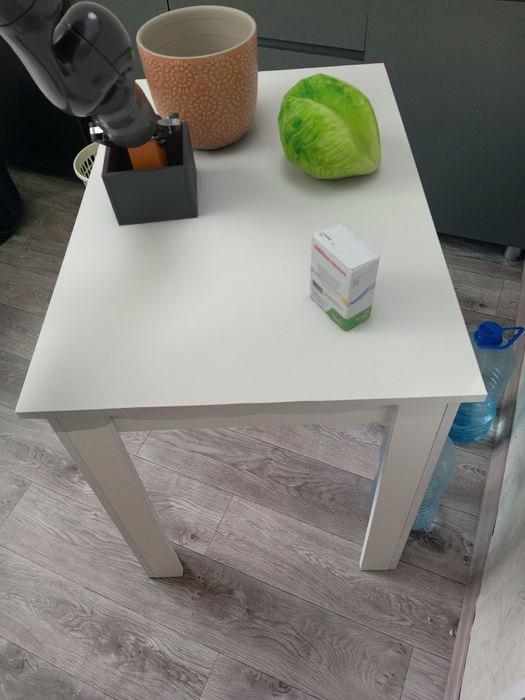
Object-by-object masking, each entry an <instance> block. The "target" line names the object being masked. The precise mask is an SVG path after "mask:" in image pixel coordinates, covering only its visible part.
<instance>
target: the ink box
mask: <svg viewBox="0 0 525 700" xmlns="http://www.w3.org/2000/svg"><path fill="white" fill-rule="evenodd" d="M310 247H311V249H310V251H311V252H310V281H309V296H310V297H311V299H312V300H313V301H315V303H316V304H317V305H318V306H319V307H320V308H321V309H322V310H323V311H324V312H325V313H326V314H327V315H328V316H329V317H330V318H331V319H332V320H333V321H334V322H335V323H336V325H338V326H339V327H340V328H341V329H342V330H343V331H346V332H347V331H349V330H350V329H352V328H354V327H355V326H357V325H359V324H361V323H362V322H364V321H365V320H367V319H368V318H370V317H371V313H372V306H373V301H374V295H375V289H376V284H377V283H376V282H377V277H378V272H379V266H380V260H381V256H380V255H379V254H378V253H377V252H376V251H374V250H373V249H372V248H371V247H369V246H368V245H367V244H366V243H365V242H364V241H362V240H361V239H360V238H359V237H358V236H357V235H355V234H354V233H353V232H352V231H351V230H350V229H349V228H348V227H346V226H345V225H344V224H343V223H342V222H337V223H335V224H333V225H331V226H328V227H327V228H324V229H323V230H320V231H318V232H316V233H314V234H312V235H311V245H310Z"/></svg>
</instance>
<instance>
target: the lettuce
mask: <svg viewBox="0 0 525 700" xmlns="http://www.w3.org/2000/svg"><path fill="white" fill-rule="evenodd" d="M277 126H278V133H279V140H280V143H281V146H282V149H283V153H284V156H285V158H286V159H287V160H288V161H289V162H291V163H292V164H293V165H295V166H296V167H297V168H298V169H300V170H301V171H302V172H303V173H305V174H307V175H309V176H311V177H312V178H315V179H317V180H318V179H320V180H338V179H344V178H348V177H357V176H364V175H365V176H366V175H370V174H372V173H374V172H376V170H377V169H378V168H379V166H380V164H381V162H382V144H381V134H380V128H379V123H378V119H377V116H376V112H375V109H374V107H373V105H372V103H371V101H370V99H369V98H368V97H367V96H366V95H365V93H363V92H362V91H361V89H360V88H358V87H356V86H354V85H353V84H351V83H349V82H347V81H345V80H342V79H341V78H338V77H334V76H332V75H331V76H330V75H328V74H325V73H323V72H322V73H321V72H320V73H317V74H313V75H310V76H307V77H305V78H301V79H300V80H299V81H297V83H296V84H295V85H293V86H292V87H291V88H290V89H289V90H288V91H287V92H286V93H284V95H283V97H282V101H281V105H280V108H279V112H278V117H277Z"/></svg>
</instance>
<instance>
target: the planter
mask: <svg viewBox="0 0 525 700" xmlns="http://www.w3.org/2000/svg"><path fill="white" fill-rule="evenodd" d="M135 41H136V46H137V50H138V54H139V59H140V62H141V66H142V69H143V72H144V76H145V79H146V84H147V86H148V90H149V93H150V96H151V100H152V103H153V105H154V109H155V112H156V114H158V115H160V116H161V118H162V119H167V116H170V115H171V114H173V113H178V114H179V119H180V122H183V121H188V127H189V132H190V138H191V143H192V149H196V150H215V149H216V150H217V149H221V148H224V147H227V146H229V145H232V144H233V143H235V142H236V141H238V140H239V139H240V138H242V137H243V136H244V135H245V134H246V133H247V132H248V130H249V129H250V127H251V126H252V125H253V122H254V120H255V117H256V113H257V104H258V93H259V91H258V89H259V51H258V49H259V48H258V30H257V23H256V20H255V19H254V18H253V16H251V15H250V14H249V13H248V12H245V11H242V10H241V9H238V8H235V7H231V6H230V7H229V6H223V5H194V6H186V7H181V8H177V9H173V10H170V11H167V12H163V13H161V14H159V15H157V16H154V17H153V18H151V19H150V20H147V21H146V22H145V23H144V24H143V25H141V27H140V28H139V29H138V31H137V33H136V35H135Z"/></svg>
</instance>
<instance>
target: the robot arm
mask: <svg viewBox="0 0 525 700" xmlns="http://www.w3.org/2000/svg"><path fill="white" fill-rule="evenodd" d="M62 8H63V0H0V36H1V37H2V38H3V40H4V41H6V42H7V44H8V45H9V46H10V47H11V49H12V50H13V52H15V54H16V55H17V57H18V58H19V59H20V61H21V62H22V64H23V66H24V67H25V68H26V70H27V71H28V73H29V75H30V77H31V78H32V80H33V81H34V83H35V84H36V86H37V87H38V88H39V90H40V91H41V92H42V93H43V96H44V97H45V98H47V100H48V101H49V102H50V103H51V104H52V105H53V106H55V107H56V108H57V109H58V110H60V111H61V112H63V113H65V114H67V115H69V116H71V117H79V118H84V117H87V116H89V117H90V118H91V119H92V120H93V121H90V122H88V127H89V135H90V140H91V142H94V143H96V144H99V145H101V146H105V147H106V146H107V147H110V148H115V147H117V145H116V144H118V145H119V146H121V147H123V148H126V149H128V148H138V147H141V146H143V145H144V144H146V143H147V142H150V143H158V144H159V146H160V147H161V148H165V145H168V141H171V142H173V141H176V139H177V138H178V136H179V134H180V132H181V127H180V119H179V114H178V113H173V114H171V115H170V116H167V119H162V118H161V116H160V115H158V113H157V112H156V110H155V108H154V107H153V105H152V103H151V102H150V100H149V99H148V96H147V95H146V93H145V91H144V90H143V89H142V87H141V86H140V85H139V83H138V82H137V81H136V77H137V75H136V72H137V68H136V67H137V63H136V53H135V48H134V47H133V42H132V40H131V37H130V36H129V34H128V31H127V30H126V28H125V27H124V25H123V24H122V22H121V20H119V18H118V17H117V16H116V15H115V14H114V13H112V12H111V11H110V10H109V9H108V8H107V7H105V6H104V5H101V4H99V3H97V2H94V1H87V0H86V1H79V2H77V3H74V4H73V5H72V6H70V7H69V8H68V9H67V10H66V12H65V14H64V15H63V17H62V18H61V19H60V16H61V13H62ZM59 19H60V21H59ZM164 127H165V128H164Z"/></svg>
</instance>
